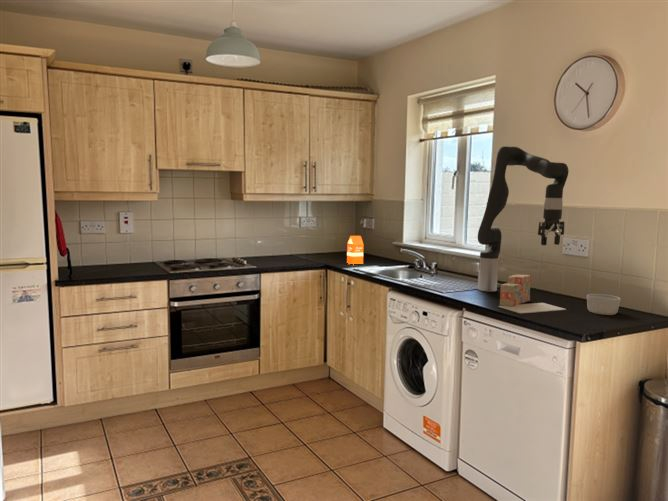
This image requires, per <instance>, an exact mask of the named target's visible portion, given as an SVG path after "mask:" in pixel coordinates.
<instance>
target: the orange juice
mask: <svg viewBox="0 0 668 501" xmlns="http://www.w3.org/2000/svg"><path fill="white" fill-rule="evenodd" d="M364 245H365V244H364V241H363V238H362V236H361V235H349V239H348V241H347V245H346V246H347V248H346V264H347V263H348V264H347V265H350V264H353V265H352V266H355V265H354V264H363V265H364Z"/></svg>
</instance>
